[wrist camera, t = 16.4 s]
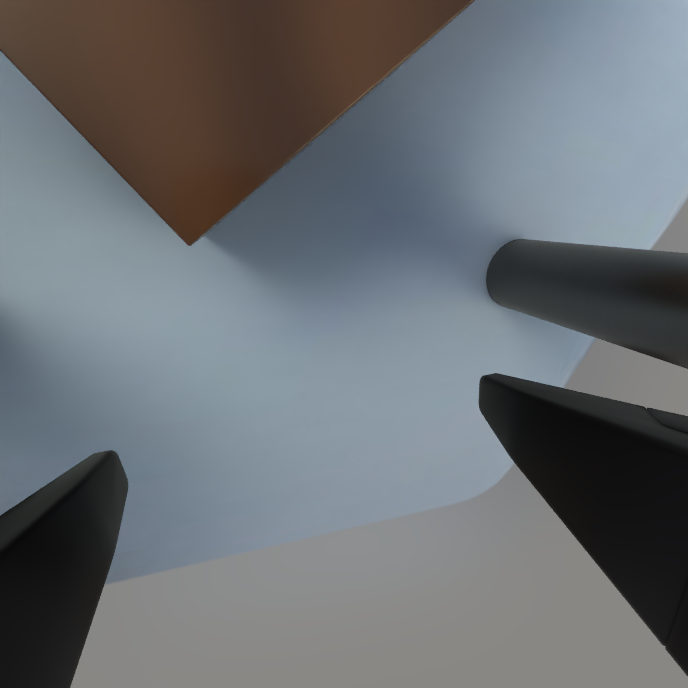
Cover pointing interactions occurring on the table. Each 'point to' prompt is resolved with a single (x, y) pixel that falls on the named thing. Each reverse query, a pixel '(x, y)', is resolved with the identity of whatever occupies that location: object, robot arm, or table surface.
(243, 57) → the drawer unit
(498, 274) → the canister
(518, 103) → the table surface
